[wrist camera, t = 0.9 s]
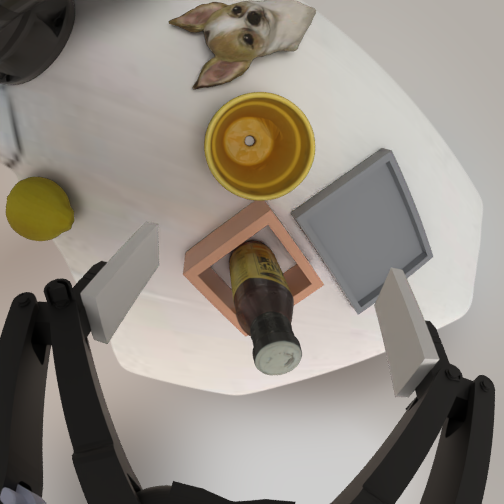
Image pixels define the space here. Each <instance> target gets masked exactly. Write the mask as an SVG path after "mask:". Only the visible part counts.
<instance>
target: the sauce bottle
mask: <svg viewBox="0 0 504 504" xmlns="http://www.w3.org/2000/svg"><path fill="white" fill-rule="evenodd" d="M229 263H230V264H229V268H230V277H231V285H232V294H233V302H234V307H235V310H236V317H237V320H238V323H239V325H240V326H241V328H242V330H243V331H244V332H245V333H247V335H249V336H251V339H252V340H253V346H254V348H253V359H254V363H255V365H256V367H257V369H258V370H260V371H261V372H262V373H264V374H267V375H282V374H285V373H287V372H290V371H291V370H293V369H294V368H295V367H296V366H297V365H298V364H299V362H300V360H301V357H302V351H301V347H300V343H299V341H298V339H297V338H296V337H295V336H294V333H293V331H292V326H291V321H292V314H293V306H294V299H293V296H292V293H291V291H290V288H289V287H288V284H287V282H286V279H285V277H284V275H283V273H282V271H281V268H280V266H279V264H278V262H277V260H276V258H275V256H274V254H273V252H272V251H271V250H270V249H269V248H268V247H267V246H266V245H264V244H262V243H260V242H257V241H249V242H246V243H242V244H240V245H239V246H238V247H237V248H236V249H235V250H234V251H233V253H232V255H231V257H230V261H229Z"/></svg>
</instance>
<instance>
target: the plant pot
mask: <svg viewBox="0 0 504 504" xmlns="http://www.w3.org/2000/svg"><path fill="white" fill-rule="evenodd" d="M247 136H252V137H253V138H254V139H255V143H254V144H253V145H252V146H248V145H246V144H245V138H246V137H247ZM204 151H205V157H206V161H207V164H208V166H209V169H210V171H211V173H212V174H213V176H214V177H215V178H216V180H217V181H218V182H219V183H220V184H221V185H222V186H223V187H224V188H225V189H227V190H228V191H230V192H231V193H233V194H235V195H237V196H239V197H242V198H245V199H249V200H257V201H263V200H272V199H276V198H279V197H281V196H284V195H286V194H287V193H289V192H291V191H292V190H293V189H295V188H296V187H297V186H298V185H299V184H300V183H301V182H302V181H303V180H304V178H305V177H306V176H307V174H308V172H309V170H310V168H311V166H312V163H313V160H314V155H315V138H314V133H313V130H312V127H311V125H310V123H309V121H308V119H307V117H306V116H305V114H304V113H303V112H302V111H301V110H300V109H299V108H298V107H297V106H296V105H295V104H294V103H292V102H291V101H289V100H288V99H286V98H284V97H282V96H279V95H276V94H272V93H266V92H253V93H247V94H243V95H240V96H238V97H236V98H234V99H232V100H230V101H229V102H227V103H226V104H225V105H223V106H222V107H221V108H220V109H219V110H218V111H217V112H216V114H215V115H214V116H213V118H212V119H211V121H210V123H209V125H208V128H207V131H206V134H205V141H204Z"/></svg>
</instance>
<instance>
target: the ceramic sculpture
mask: <svg viewBox="0 0 504 504" xmlns="http://www.w3.org/2000/svg"><path fill="white" fill-rule="evenodd" d="M315 14H316V10H315V9H314V8H312V7H309V6H307V5H304V4H302V3H300V2H298V1H295V0H264V1H244V2H240V3H236V4H232V5H226V4H224V3H219V2H212V3H209V4H202V5H200V6H197V7H196V8H195V9H192V10H190V11H188V12H187V13H185V14H183V15H182V16H180V17H177V18H175V19H172V20H170V21H169V24H172V25H175V26H179V27H181V28H183V29H185V30H187V31H190V32H201V31H203V30H204V35H205V40H206V44H207V46H208V47H209V49H210V50H211V51H212V52H213V53H214V54H215V57H214V58H212V59H210V60H209V61H208V62H207V63H206V64H205V65H204V66H203V68H202V70H201V73H200V75H199V78H198V80H197V81H196V83H195V84H194V86H193V87H192V88H193V89H199V88H204V87H213V86H216V85H221V84H224V83H228V82H230V81H232V80H233V79H235V78H237V77H239V76H241V75H243V73H244V72H245V71H246V70H247V69H248V68H249V66H250V64H251V62H252V60H253V59H254V58H256V57H263V56H265V55H268V54H271V53H273V52H276V51H281V50H284V51H295V50H297V49H298V46H299V44H300V42H301V40H302V38H303V36H304V34H305V32H306V31H307V29H308V27H309V26H310V25H311V23H312V20H313V17H314V16H315Z"/></svg>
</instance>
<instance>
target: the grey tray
mask: <svg viewBox="0 0 504 504" xmlns="http://www.w3.org/2000/svg"><path fill="white" fill-rule="evenodd" d="M291 214H292V216H293V217H294V219H295V220H296V221H297V223H298V224H299V226H300V227H301V229H302V230H303V232H304V233H305V235H306V236H307V238H308V239H309V241H310V242H311V244H312V245H313V246H314V248H315V249H316V251H317V252H318V254H319V255H320V257H321V259H322V260H323V262H324V263H325V265H326V266H327V268H328V269H329V271H330V272H331V274H332V275H333V277H334V278H335V280H336V282H337V283H338V285H339V286H340V288H341V289H342V291H343V292H344V294H345V296H346V297H347V299H348V300H349V302H350V304H351V305H352V307H353V308H354V310H355V311H356V312H357V314H358V315H359V314H360V313H361V312H363V311H364V310H366V309H367V308H368V307H370V306H371V305H372V304H374V303H375V302H376V300H377V298H378V296H379V294H380V292H381V289H382V287H383V285H384V283H385V280H386V278H387V276H388V273H389V271H390V269H391V268H396V269H401V270H403V272H404V274H405V276H406V278H408V277H409V276H410V275H412V274H413V273H414V272H415V271H417V270H418V269H419V268H420V267H422V266H423V265H424V264H425V263H426V262H428V261H429V260H430V259H431V258H432V257H433V254H432V251H431V248H430V245H429V242H428V239H427V236H426V233H425V230H424V227H423V225H422V222H421V219H420V216H419V214H418V211H417V208H416V206H415V203H414V201H413V198H412V196H411V193H410V191H409V188H408V186H407V183H406V181H405V179H404V176H403V174H402V172H401V170H400V167H399V165H398V163H397V161H396V159H395V156H394V154H393V152H392V150H388V149H384V148H382V149H380V150H379V151H377V152H376V153H374V154H373V155H372V156H370V157H369V158H367V159H366V160H364V161H363V162H362V163H360V164H359V165H357V166H356V167H354V168H353V169H352V170H350V171H349V172H347V173H346V174H345V175H343V176H342V177H340V178H339V179H337V180H336V181H335V182H333V183H332V184H330V185H329V186H328V187H326V188H325V189H323V190H322V191H321V192H319V193H318V194H316V195H315V196H313V197H312V198H311V199H309V200H308V201H306V202H305V203H304V204H302V205H301V206H299V207H298V208H297V209H295V210H294V211H292V212H291Z"/></svg>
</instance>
